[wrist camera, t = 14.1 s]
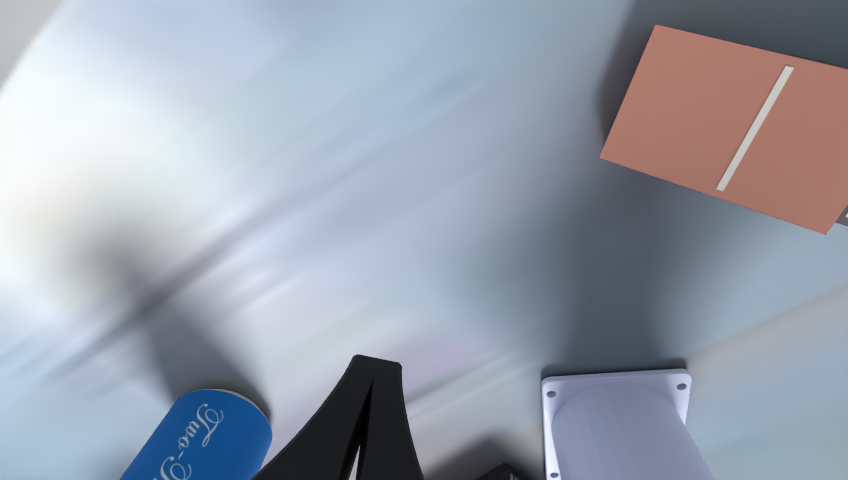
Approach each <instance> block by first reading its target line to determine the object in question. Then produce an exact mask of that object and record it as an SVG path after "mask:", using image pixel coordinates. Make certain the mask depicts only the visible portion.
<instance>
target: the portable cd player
mask: <svg viewBox="0 0 848 480" xmlns="http://www.w3.org/2000/svg"><path fill="white" fill-rule="evenodd" d="M475 480H526V479H525V478H523V477H522V476H521V475H519V474H518V473H517V472H515V471H514V470H513V469H511V468H510V467H509V466H507V465H506V464H505V463H503V464H501V465H499V466H498V467H496V468H494V469H492V470H491V471H489V472H487V473H486V474H484V475H482V476H480V477H479V478H477V479H475Z"/></svg>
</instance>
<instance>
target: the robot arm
mask: <svg viewBox="0 0 848 480" xmlns="http://www.w3.org/2000/svg"><path fill="white" fill-rule="evenodd" d="M691 382H692V376H691V374H690V373H689V372H688V370H686V369H666V370H650V371H634V372H618V373H602V374H586V375H570V376H554V377H546V378H545V379H543V380H542V383H541V389H542V409H543V430H544V450H545V471H546V480H714V478H713V477H712V475H711V473H710V471H709V469H708V467H707V465H706V464H705V462H704V460H703V458H702V456H701V454H700V453H699V451H698V449H697V447H696V445H695V443H694V441H693V440H692V438H691V436H690V434H689V432H688V430H687V428H686V427H685V423H686V416H687V409H688V402H689V396H690V389H691ZM681 383H682V384H681ZM679 384H681V385H679ZM549 391H553V392H551V393H550V392H549ZM359 446H360V450H359V458H358V466H357V473H356V480H424V477H423V474H422V471H421V468H420V465H419V462H418V459H417V455H416V452H415V448H414V445H413V441H412V437H411V433H410V428H409V424H408V419H407V414H406V409H405V403H404V396H403V388H402V366H401V365H400V363H398V362H393V361H388V360H383V359H378V358H373V357H368V356H363V355H358V354H357V355H355V356H353V358H352V360H351V362H350V364H349V366H348V368H347V369H346V371H345V373H344V374H343V376H342V378H341V379H340V381H339V382H338V384H337V385H336V386H335V388H334V389H333V391H332V392H331V393H330V395H329V396H328V397H327V399H326V400H325V401H324V403H323V404H322V405H321V407H320V408H319V409H318V410H317V412H316V413H315V414H314V415H313V416H312V417H311V419H310V420H309V421H308V422H307V423H306V424H305V426H304V427H303V428H302V429H301V430H300V431H299V432H298V434H297V435H296V436H295V437H294V438H293V439H292V440H291V441H290V442H289V443H288V444H287V445H286V446H285V447H284V448H283V449H282V450H281V451H280V452H279V453H278V454H277V455H276V456H275V457H274V458H273V459H272V460H271V461H270V462H269V463H268V464H267V465H266V466H264V467H263V468H262V469H261V470H260V471H259V472H258V473H257V474H256V475H255V476H254V477H252V478H251V479H250V480H349V477H350V474H351V471H352V468H353V465H354V462H355V459H356V455H357V452H358V449H359Z"/></svg>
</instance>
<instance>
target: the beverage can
mask: <svg viewBox="0 0 848 480" xmlns="http://www.w3.org/2000/svg"><path fill="white" fill-rule="evenodd" d="M271 441H272V429H271V425H270V423H269V421H268V419H267V418H266V416H265V415H264V414H263V412H262V411H261V410H260V409H259V407H258V406H257V405H256V404H255V403H254V402H253V401H251V400H250V399H249V398H247V397H245V396H243V395H241V394H239V393H237V392H234V391H230V390H225V389H200V390H195V391H191V392H189V393H186V394H184V395H183V396H181V397H180V398H179V399H178V400H177V401H176V402H175V404H174V405H173V406H172V408H171V409H170V410H169V412H168V413H167V415H166V416H165V417H164V419H163V420H162V422H161V423H160V424H159V426H158V427H157V428H156V430H155V431H154V433H153V434H152V435H151V437H150V438H149V440H148V441H147V442H146V444H145V445H144V447H143V448H142V449H141V451H140V452H139V453H138V455H137V456H136V458H135V459H134V460H133V462H132V463H131V465H130V466H129V467H128V469H127V470H126V472H125V473H124V474H123V476H122V477H121V478H120V480H250V479H251V478H252V477H254V476H255V475H256V474H257V473H258V472H259V470H260V468H261V465H262V463H263V461H264V458H265V456H266V454H267V451H268V449H269V447H270V444H271Z"/></svg>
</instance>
